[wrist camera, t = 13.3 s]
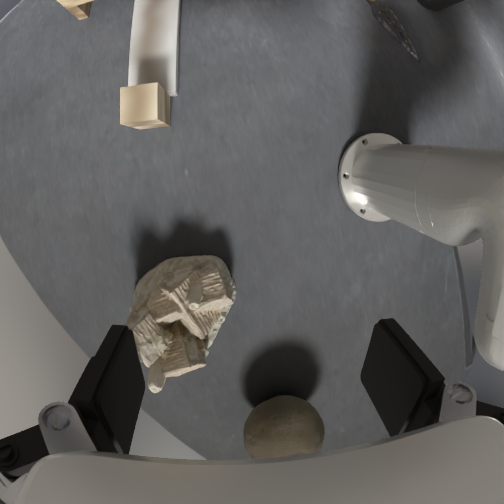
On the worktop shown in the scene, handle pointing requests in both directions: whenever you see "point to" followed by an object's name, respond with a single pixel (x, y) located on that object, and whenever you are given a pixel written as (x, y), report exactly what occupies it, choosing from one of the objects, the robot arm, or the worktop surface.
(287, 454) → the cantaloupe
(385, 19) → the throwing knife
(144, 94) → the tan piece
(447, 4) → the travel mug
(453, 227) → the robot arm
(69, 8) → the oak bench
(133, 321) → the ceramic cottage
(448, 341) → the worktop surface
